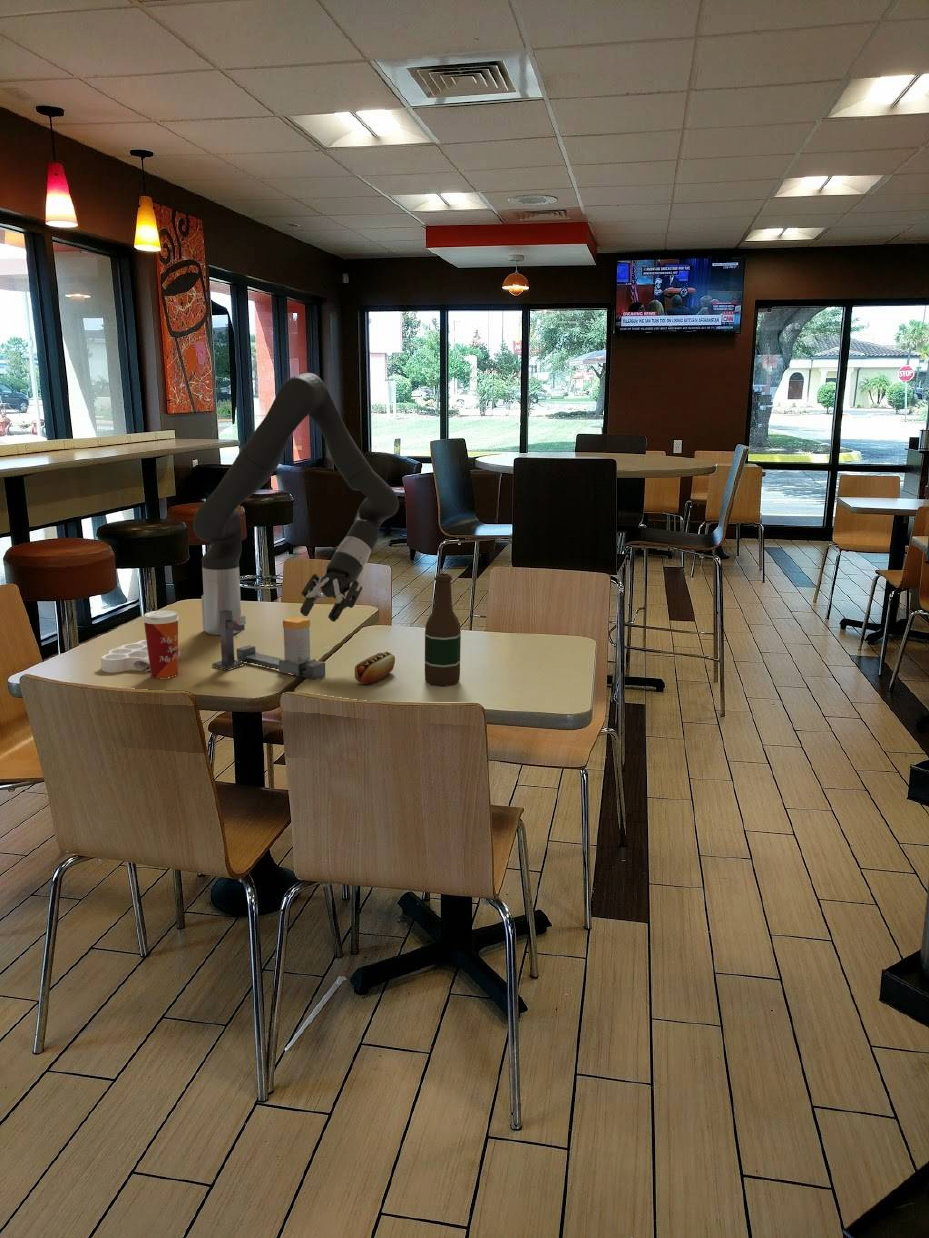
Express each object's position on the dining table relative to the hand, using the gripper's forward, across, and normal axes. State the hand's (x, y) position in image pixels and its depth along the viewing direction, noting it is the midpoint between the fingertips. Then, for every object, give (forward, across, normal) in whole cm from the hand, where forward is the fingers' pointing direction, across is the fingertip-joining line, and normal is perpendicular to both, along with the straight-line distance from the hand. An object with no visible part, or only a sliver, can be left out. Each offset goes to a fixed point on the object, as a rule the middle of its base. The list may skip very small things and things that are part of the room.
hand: (317, 617), depth 209 cm
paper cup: (+26, -23, -9) cm, 36 cm away
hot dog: (+8, +16, +9) cm, 20 cm away
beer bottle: (+3, +29, +14) cm, 33 cm away
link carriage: (+13, -1, +4) cm, 13 cm away
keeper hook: (+17, -15, 0) cm, 23 cm away
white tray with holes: (+24, -36, -7) cm, 44 cm away
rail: (+13, -6, +4) cm, 15 cm away
